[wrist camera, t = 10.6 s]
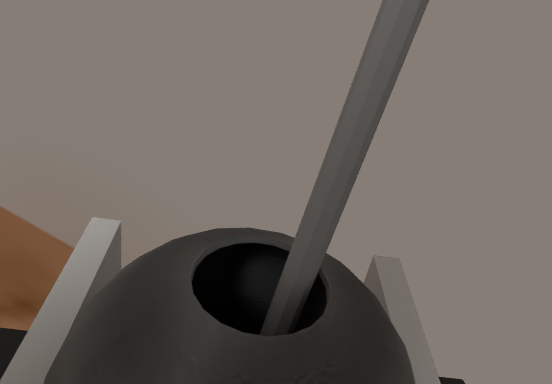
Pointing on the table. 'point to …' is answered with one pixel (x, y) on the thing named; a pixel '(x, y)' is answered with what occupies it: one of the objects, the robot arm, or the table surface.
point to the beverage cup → (257, 280)
